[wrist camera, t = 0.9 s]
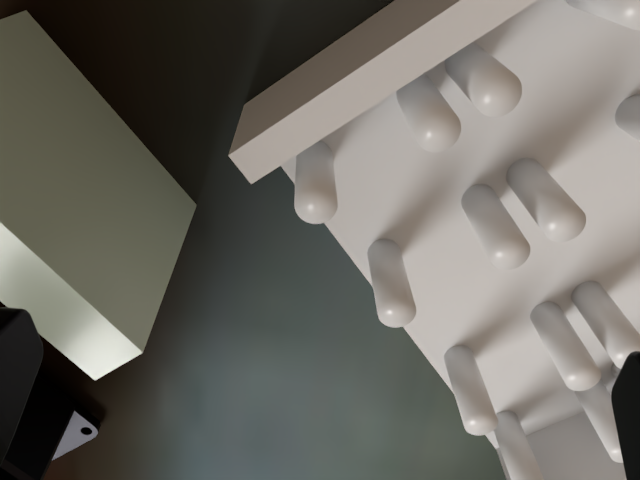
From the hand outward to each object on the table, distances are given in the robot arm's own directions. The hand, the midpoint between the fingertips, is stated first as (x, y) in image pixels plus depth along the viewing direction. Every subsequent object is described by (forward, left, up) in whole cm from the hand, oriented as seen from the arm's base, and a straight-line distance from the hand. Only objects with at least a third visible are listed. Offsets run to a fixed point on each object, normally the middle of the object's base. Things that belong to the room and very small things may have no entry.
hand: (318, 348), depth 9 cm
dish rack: (+7, -9, -12) cm, 16 cm away
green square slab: (-6, +3, -12) cm, 14 cm away
